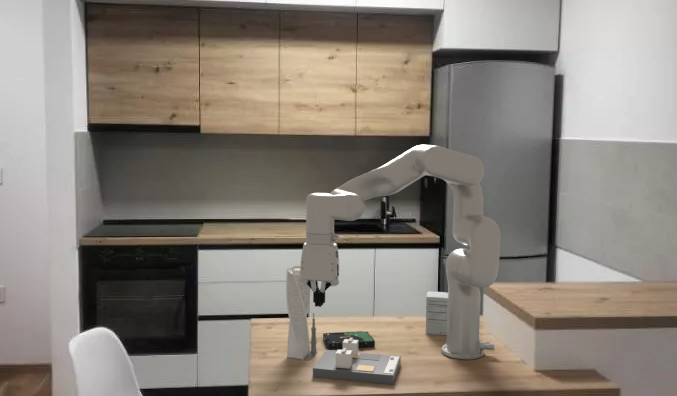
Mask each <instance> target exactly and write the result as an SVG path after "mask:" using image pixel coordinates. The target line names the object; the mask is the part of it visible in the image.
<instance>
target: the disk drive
mask: <svg viewBox="0 0 677 396" xmlns="http://www.w3.org/2000/svg"><path fill="white" fill-rule="evenodd" d="M350 337H351V338H353V340H358V350H359V349H374V348H375V347H376V340H375V339H374V338H373V335H371V334H370V333H369V331H365V330H364V331H361V330H360V331H343V332H341V331H340V332H325V333H322V340H323V343H324V344H325V347H326V350H336V351H337V350H338V349H339V350H343V341H344V339H350Z"/></svg>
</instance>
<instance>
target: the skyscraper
mask: <svg viewBox="0 0 677 396" xmlns="http://www.w3.org/2000/svg"><path fill="white" fill-rule="evenodd" d="M300 266H301V265H294V266H292V267H289V268H287V269H286V276H285V277H286V282H285V286H286V287H285V290H286V292H285V295H286V297H285V298H286V307H287V308H286V309H287V314H288V319H289V321H288V323H289V324H288V335H287V348H286V349H287V350H286V358H287V359H293V360H294V359H295V360H302V361H310V360H312V358H314V357H315V355H316V354H318V353H319V352H318V351H317V342H318V341H317V332H316V331H317V327H316V318H315V313H314V312H313V313H312V319H311V320H312V326H311V328H310V329H311V330H310V331H311V338H310V333H309V325H308V319H307V316H308V312H309V307H310V300H311V288H310V287H309V286H308V285H306V284H303V283H300V279H301V276H300Z"/></svg>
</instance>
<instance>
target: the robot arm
mask: <svg viewBox="0 0 677 396" xmlns="http://www.w3.org/2000/svg"><path fill="white" fill-rule="evenodd" d="M484 175H485V166H484V164H483V161H481V160H480V158H478V157H477V156H474V155H471V154H467V153H463V152H462V151H461V152H459V151H457V150H454V149H450V148H447V147H443V146H440V145H432V144H419V145H418V144H417V145H415V146H413V147H411V148H410V149H408V150H406V151H404V152H403V153H402V154H400V155H398V156H396V157H395V158H393V159H391V160H389V161H388V162H386V163H385V164H383V165H381V166H379V167H377V168H375V169H372V170H370V171H367V172H366V173H363V174H361V175H359V176H356V177H354V178H352V179H350V180H348V181H346V182H345V183H343V184H342V185H340V186H338V187H336V188H335V189H333V190H332V191H331V192H330V193H328V192H313V193H309V194H308V195H307V196H306V201H305V202H306V205H305V207H306V210H305V212H306V213H305V217H306V218H305V219H306V220H305V225H306V226H305V242H304V243H303V246H302V250H301V258H300V265H299V266H300V276H301V279H300V283H303V284H306V285H308V286H309V287H310V290H311V291H312V292H313V293H312V294H313V295H312V296H313V298H312V302H313V303H314V307H316V308H317V307H318V308H321V307H322V306H323V305H324V304H325V303H326V291H327V290H328V289H329V288H330V287H337V286H338V285H339V284H340V280H339V277H340V259H339V256H340V255H339V249H338V244H337V243H335V242H337V241H339V240H340V235H336V233H335V221H336V220H339V221H347V222H351V221H352V222H353V221H356V220H359V219H360V218H361V217H363V215H364V214H365V211H366V204H365V202H366V201H367V200H370V199H371V200H372V199H374V198H378V197H385V196H390V195H394V194H397V193H398V192H401V191H402V190H404V189H405V188H406V187H408V186H410V185H412V184H413V183H415V182H416V181H418V180H420V179H421V178H423V177H425V176H429V177H435V178H437V179H441V180H443V181H444V182H446V184H447V185H448V186H449V187H450V189H451V191H452V195H453V215H452V231H451V232H452V236H453V239H454V240H455V241H456V242H457V243H460V244H462V245H464V246H467V247H469V249H468V248H464V247H463V248H457V249H454V250H452V251H451V252H450V253H449V255H448V256H447V258H446V261H445V275H446V280H447V293H448V316H447V335H446V343H444V344H443V345H442V346H441V353H442V354H443V355H444V356H446V357H449V358H452V359H457V360H476V359H479V358H482V357H483V356H484V354H485V350H486V351H487V350H488V351H495V343H491V341H483V340H481V336H480V323H481V321H480V320H481V316H480V315H481V290H480V289H486V288H488V287H490V286H492V285H493V284H494V283H495V281H496V279H497V277H498V274H499V268H500V257H501V256H500V254H501V231H500V227H499V225H498V224H497V222H496V221H495V220H494V219H493V218H490V217H488V216H484V193H483V188H482V186H481V181H482V179H483V178H484ZM319 282H321V284H320V287H319Z"/></svg>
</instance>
